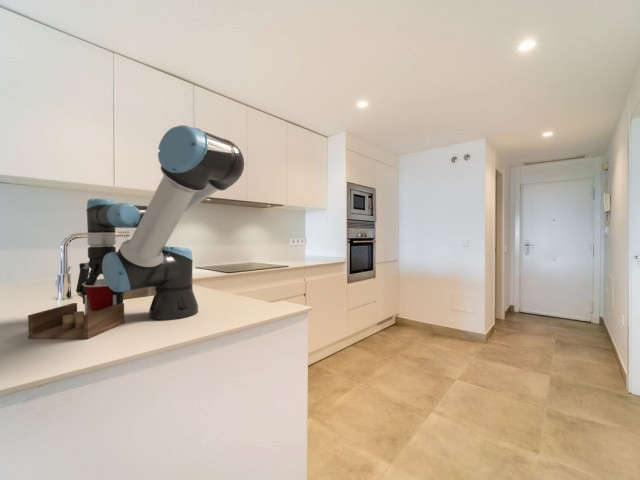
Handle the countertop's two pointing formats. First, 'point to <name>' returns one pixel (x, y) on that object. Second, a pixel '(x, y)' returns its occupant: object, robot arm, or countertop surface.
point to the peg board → (90, 322)
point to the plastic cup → (99, 295)
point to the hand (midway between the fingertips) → (103, 313)
